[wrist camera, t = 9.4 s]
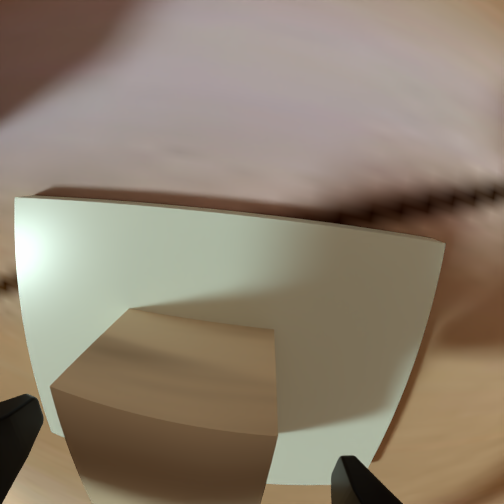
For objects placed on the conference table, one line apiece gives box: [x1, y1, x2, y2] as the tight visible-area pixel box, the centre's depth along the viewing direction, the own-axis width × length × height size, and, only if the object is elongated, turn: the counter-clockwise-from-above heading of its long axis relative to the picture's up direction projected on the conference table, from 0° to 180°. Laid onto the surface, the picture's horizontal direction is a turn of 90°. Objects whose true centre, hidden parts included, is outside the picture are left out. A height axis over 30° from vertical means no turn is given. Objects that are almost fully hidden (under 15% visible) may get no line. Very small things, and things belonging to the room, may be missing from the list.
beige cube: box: [50, 308, 278, 504], centre depth 8 cm, size 5×5×5 cm
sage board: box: [15, 195, 446, 485], centre depth 11 cm, size 12×16×1 cm
